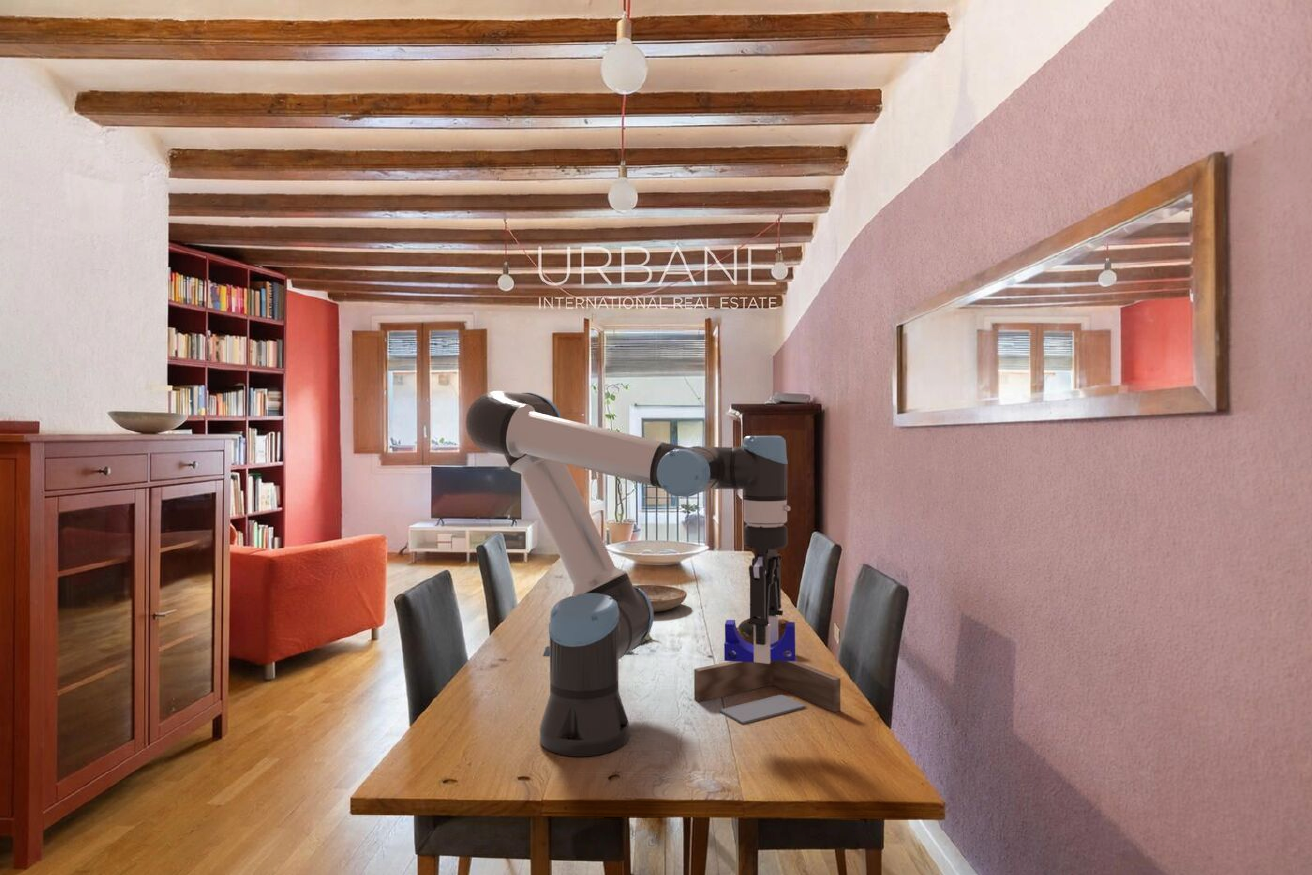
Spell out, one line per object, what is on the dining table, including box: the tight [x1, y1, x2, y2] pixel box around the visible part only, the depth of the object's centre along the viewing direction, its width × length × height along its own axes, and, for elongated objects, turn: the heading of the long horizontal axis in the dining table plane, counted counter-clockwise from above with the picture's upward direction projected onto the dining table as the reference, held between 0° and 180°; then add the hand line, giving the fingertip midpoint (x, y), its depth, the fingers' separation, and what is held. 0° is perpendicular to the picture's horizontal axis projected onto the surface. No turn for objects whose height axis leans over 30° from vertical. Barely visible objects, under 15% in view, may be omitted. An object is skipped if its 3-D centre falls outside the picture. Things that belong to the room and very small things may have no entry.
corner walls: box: [693, 660, 841, 713], centre depth 141 cm, size 20×19×6 cm
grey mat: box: [718, 693, 806, 725], centre depth 138 cm, size 15×7×1 cm, turn 121°
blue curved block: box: [723, 619, 796, 662], centre depth 129 cm, size 12×4×6 cm, turn 79°
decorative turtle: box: [736, 617, 790, 645], centre depth 176 cm, size 10×15×8 cm, turn 73°
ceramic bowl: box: [632, 584, 688, 613], centre depth 218 cm, size 23×24×5 cm
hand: (766, 657), depth 129 cm, fingers closed on blue curved block, 5 cm apart
